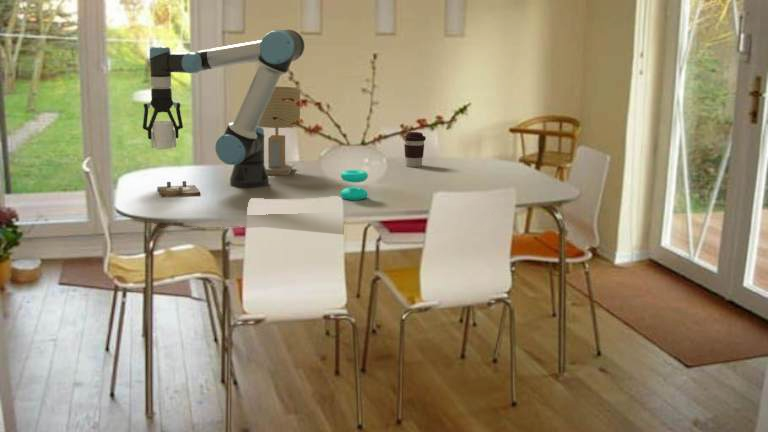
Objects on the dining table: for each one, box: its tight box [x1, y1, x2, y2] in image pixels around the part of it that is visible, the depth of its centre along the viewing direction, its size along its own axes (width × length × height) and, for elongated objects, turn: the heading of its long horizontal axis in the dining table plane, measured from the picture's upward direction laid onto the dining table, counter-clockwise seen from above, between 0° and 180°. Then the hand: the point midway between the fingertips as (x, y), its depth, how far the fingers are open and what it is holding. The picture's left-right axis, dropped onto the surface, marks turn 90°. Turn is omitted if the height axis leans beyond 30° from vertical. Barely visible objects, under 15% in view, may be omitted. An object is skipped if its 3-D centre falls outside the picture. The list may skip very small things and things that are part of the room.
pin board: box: [156, 180, 201, 198], centre depth 338 cm, size 14×14×3 cm
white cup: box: [152, 120, 174, 150], centre depth 347 cm, size 8×8×10 cm
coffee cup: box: [403, 131, 426, 168], centre depth 405 cm, size 10×10×15 cm
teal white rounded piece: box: [340, 169, 369, 201], centre depth 336 cm, size 10×10×10 cm
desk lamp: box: [257, 86, 301, 176], centre depth 381 cm, size 20×20×35 cm
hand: (163, 147), depth 348 cm, fingers closed on white cup, 8 cm apart
